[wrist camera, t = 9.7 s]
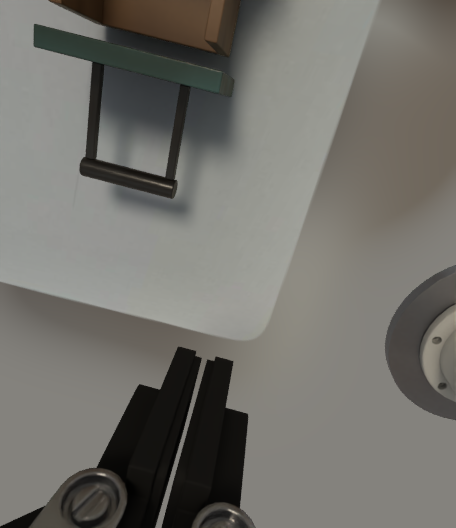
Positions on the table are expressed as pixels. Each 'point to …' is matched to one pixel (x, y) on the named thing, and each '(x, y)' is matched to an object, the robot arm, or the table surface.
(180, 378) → the robot arm
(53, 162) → the table surface
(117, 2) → the drawer
